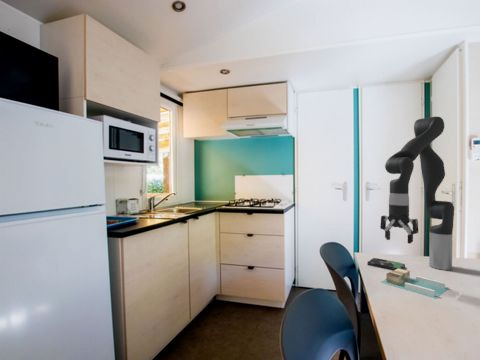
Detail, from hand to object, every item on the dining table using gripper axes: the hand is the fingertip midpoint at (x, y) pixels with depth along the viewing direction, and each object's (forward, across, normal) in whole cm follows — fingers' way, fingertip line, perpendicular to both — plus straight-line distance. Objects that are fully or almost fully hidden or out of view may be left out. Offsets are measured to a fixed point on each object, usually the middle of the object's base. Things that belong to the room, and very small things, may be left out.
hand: (398, 241), depth 117 cm
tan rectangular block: (+17, 0, 0) cm, 17 cm away
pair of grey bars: (+17, -10, 0) cm, 20 cm away
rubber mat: (+17, -6, 0) cm, 18 cm away
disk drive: (+18, +12, -16) cm, 27 cm away
